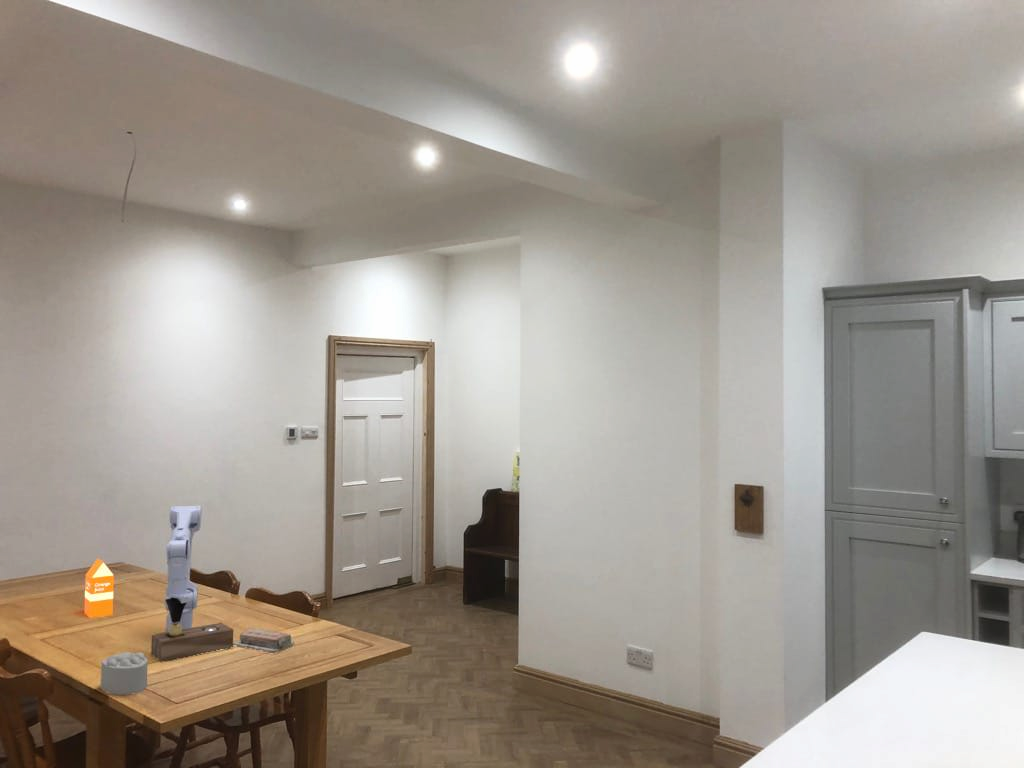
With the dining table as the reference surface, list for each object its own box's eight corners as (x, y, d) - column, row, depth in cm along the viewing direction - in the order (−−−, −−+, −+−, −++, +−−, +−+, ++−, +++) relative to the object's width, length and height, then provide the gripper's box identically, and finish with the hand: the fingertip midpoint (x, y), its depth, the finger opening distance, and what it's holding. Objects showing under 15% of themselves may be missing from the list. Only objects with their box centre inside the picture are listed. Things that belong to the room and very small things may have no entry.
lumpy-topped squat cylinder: (134, 677, 220) (135, 646, 221) (155, 688, 212) (156, 656, 212) (95, 686, 212) (97, 655, 213) (116, 698, 204) (117, 665, 204)
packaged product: (296, 631, 253) (275, 639, 244) (295, 646, 253) (275, 654, 244) (253, 624, 260) (231, 632, 251) (253, 638, 260) (231, 647, 251)
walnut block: (151, 654, 241) (151, 634, 241) (220, 640, 256) (221, 622, 256) (161, 662, 233) (162, 642, 234) (232, 648, 248) (233, 629, 248)
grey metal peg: (202, 646, 248) (202, 628, 248) (213, 644, 251) (213, 626, 251) (206, 649, 246) (207, 631, 246) (217, 647, 248) (218, 629, 248)
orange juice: (89, 618, 280) (91, 563, 281) (83, 613, 287) (85, 559, 287) (113, 614, 285) (115, 560, 286) (106, 609, 292) (108, 556, 293)
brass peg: (167, 642, 241) (167, 623, 241) (179, 640, 243) (179, 621, 244) (171, 645, 238) (171, 626, 239) (183, 642, 241) (183, 624, 241)
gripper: (198, 580, 239) (197, 624, 238) (182, 572, 250) (180, 614, 249) (175, 583, 234) (173, 628, 234) (159, 575, 245) (158, 618, 244)
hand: (175, 621), depth 241 cm, fingers closed
